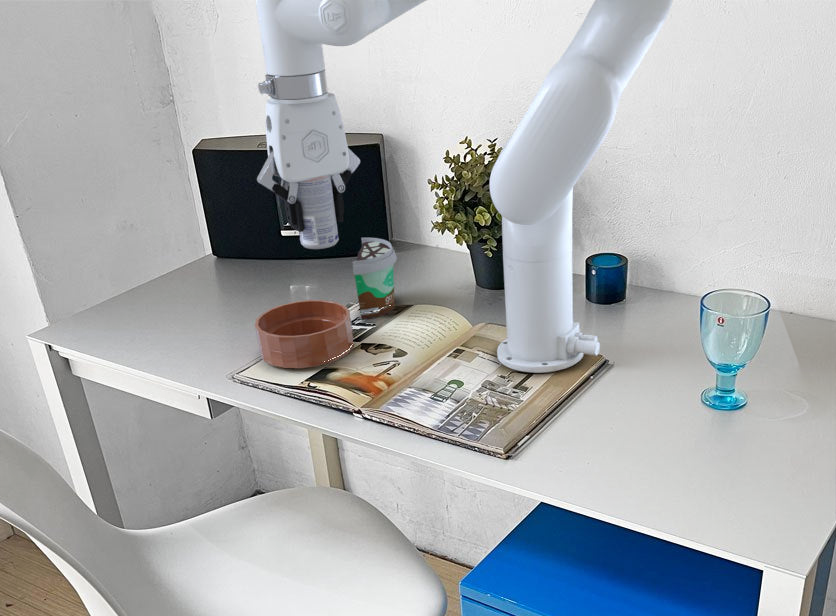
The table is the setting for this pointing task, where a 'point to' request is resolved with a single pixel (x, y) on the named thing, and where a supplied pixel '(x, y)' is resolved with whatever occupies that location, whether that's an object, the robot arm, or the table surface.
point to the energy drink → (317, 213)
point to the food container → (375, 277)
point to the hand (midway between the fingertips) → (317, 223)
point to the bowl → (304, 333)
